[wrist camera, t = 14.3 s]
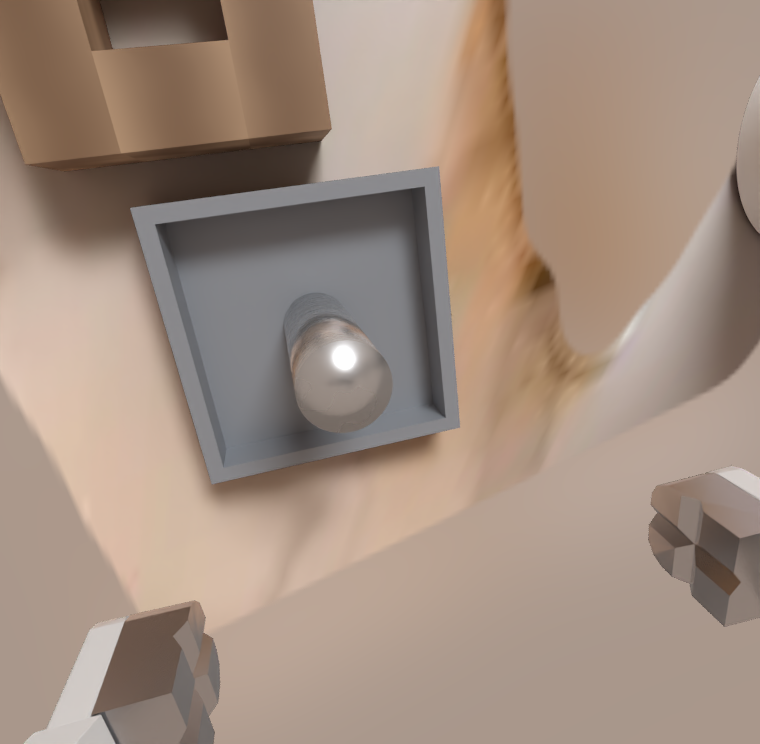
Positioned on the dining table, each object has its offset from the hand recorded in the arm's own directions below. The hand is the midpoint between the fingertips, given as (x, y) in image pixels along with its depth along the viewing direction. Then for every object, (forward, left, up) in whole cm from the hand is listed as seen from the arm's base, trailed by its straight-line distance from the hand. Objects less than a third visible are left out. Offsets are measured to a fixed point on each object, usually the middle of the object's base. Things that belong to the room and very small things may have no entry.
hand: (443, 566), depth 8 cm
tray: (0, 0, -20) cm, 20 cm away
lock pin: (0, 0, -20) cm, 20 cm away
